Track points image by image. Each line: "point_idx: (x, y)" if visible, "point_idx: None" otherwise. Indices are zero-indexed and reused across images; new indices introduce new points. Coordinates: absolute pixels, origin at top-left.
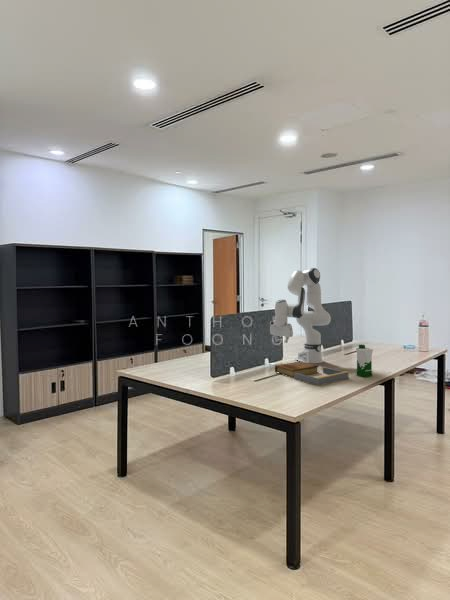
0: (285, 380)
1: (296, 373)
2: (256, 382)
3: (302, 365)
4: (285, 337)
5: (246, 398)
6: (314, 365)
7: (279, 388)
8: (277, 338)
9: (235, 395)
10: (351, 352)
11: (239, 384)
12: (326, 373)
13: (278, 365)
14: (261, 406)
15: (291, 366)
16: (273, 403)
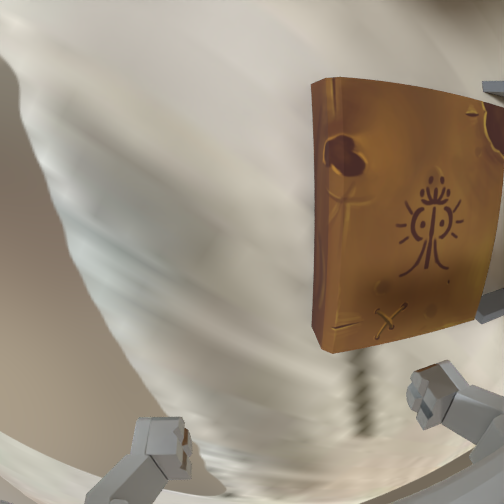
0: (447, 348)
1: (491, 319)
2: (381, 434)
3: (457, 193)
4: (474, 461)
5: (442, 458)
6: (494, 126)
7: None
8: (148, 460)
9: (413, 473)
10: None
11: (357, 467)
12: (500, 95)
13: (348, 340)
14: None
15: (428, 281)
16: None
